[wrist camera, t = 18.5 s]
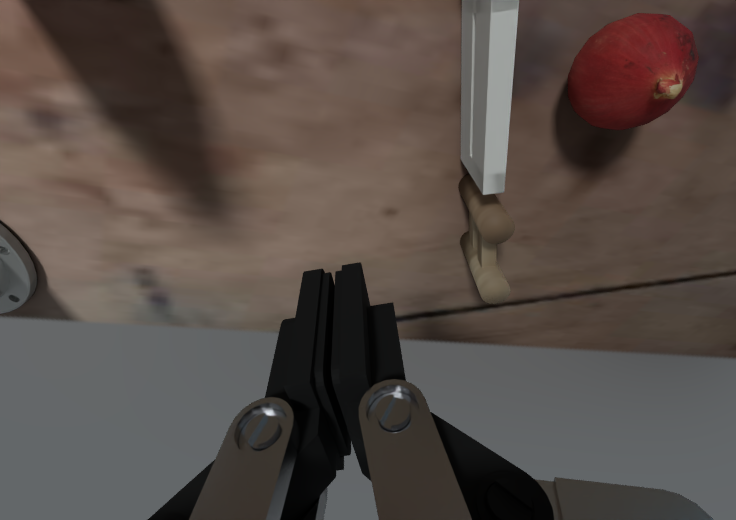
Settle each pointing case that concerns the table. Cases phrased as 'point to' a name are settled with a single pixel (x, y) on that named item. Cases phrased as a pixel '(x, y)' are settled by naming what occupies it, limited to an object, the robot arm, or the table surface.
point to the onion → (632, 71)
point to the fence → (485, 240)
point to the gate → (487, 88)
